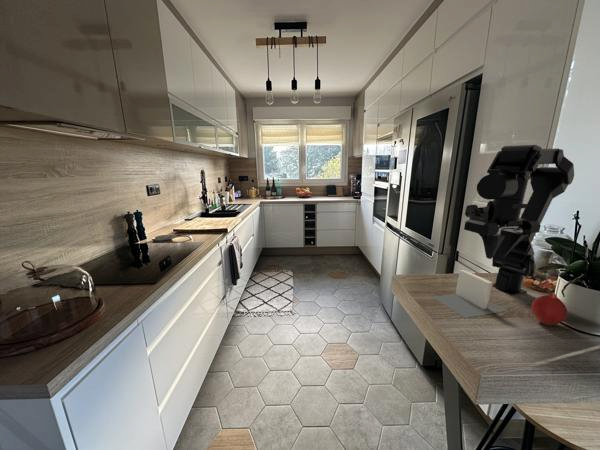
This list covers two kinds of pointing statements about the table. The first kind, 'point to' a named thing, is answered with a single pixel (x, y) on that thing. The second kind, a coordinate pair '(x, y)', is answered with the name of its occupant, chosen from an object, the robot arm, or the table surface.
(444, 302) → the mat
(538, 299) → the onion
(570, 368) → the table surface
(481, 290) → the tile
